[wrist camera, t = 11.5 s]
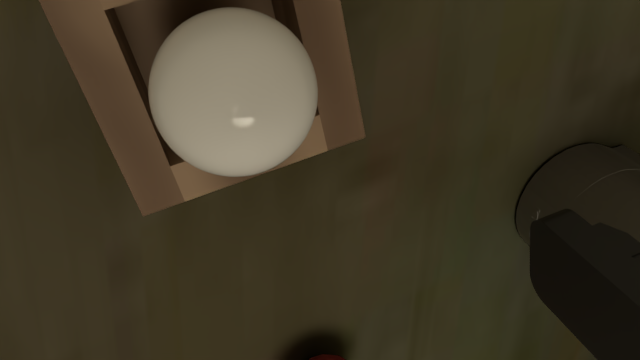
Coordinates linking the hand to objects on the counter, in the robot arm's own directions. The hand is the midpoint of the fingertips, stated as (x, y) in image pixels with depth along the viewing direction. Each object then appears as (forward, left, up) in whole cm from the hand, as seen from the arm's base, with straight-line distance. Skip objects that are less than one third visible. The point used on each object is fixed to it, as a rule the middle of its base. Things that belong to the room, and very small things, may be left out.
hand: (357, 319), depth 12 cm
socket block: (0, 0, -21) cm, 21 cm away
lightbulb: (0, 0, -21) cm, 21 cm away
